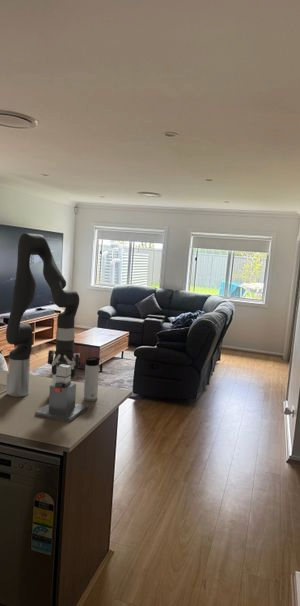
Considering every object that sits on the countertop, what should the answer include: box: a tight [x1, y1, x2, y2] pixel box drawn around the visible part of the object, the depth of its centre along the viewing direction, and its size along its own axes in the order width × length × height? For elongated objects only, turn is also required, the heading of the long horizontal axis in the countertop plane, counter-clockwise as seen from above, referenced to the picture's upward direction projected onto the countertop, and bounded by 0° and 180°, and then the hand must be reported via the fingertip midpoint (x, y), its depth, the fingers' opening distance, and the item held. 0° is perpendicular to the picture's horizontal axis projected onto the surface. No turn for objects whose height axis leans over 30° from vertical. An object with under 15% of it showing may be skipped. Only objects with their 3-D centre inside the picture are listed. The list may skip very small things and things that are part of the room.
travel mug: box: [83, 356, 101, 402], centre depth 192 cm, size 6×7×20 cm
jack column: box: [56, 364, 72, 387], centre depth 174 cm, size 5×5×18 cm
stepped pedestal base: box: [34, 382, 88, 423], centre depth 175 cm, size 16×16×13 cm
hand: (63, 375), depth 174 cm, fingers open, 8 cm apart
